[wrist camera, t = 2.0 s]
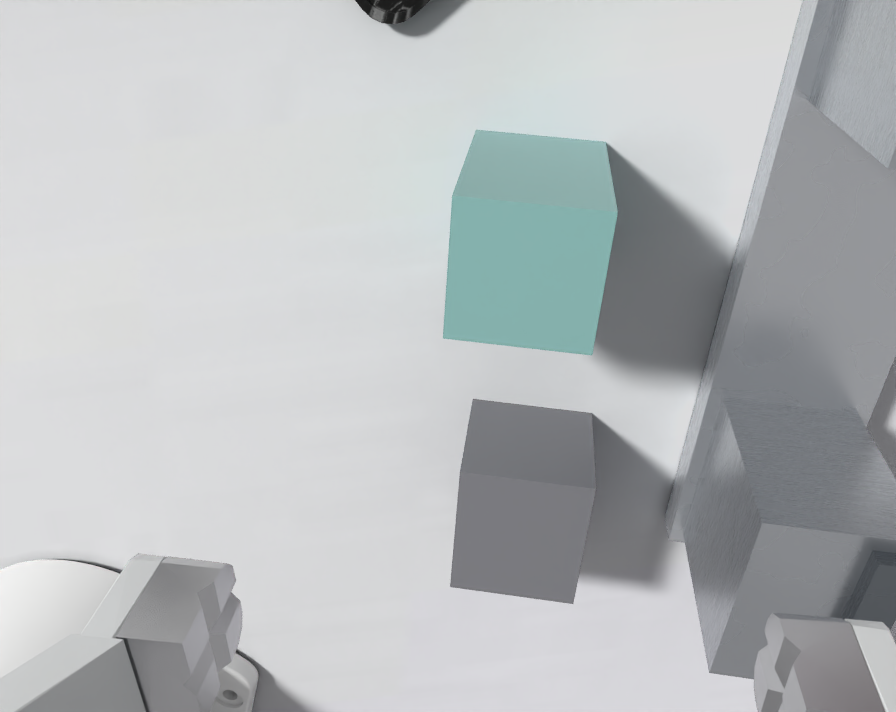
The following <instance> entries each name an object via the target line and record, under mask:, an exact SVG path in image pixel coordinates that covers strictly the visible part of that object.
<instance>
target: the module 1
mask: <svg viewBox="0 0 896 712" xmlns="http://www.w3.org/2000/svg"><path fill="white" fill-rule="evenodd" d="M617 214H618V210H617V204H616V198H615V193H614V187H613V181H612V175H611V170H610V164H609V158H608V152H607V147H606V142H601V141H590V140H579V139H569V138H558V137H547V136H537V135H526V134H515V133H505V132H494V131H483V130H476V132H475V135H474V137H473V140H472V143H471V146H470V148H469V151H468V154H467V157H466V159H465V162H464V165H463V168H462V170H461V173H460V176H459V179H458V181H457V184H456V187H455V190H454V192H453V195H452V208H451V223H450V239H449V254H448V269H447V285H446V300H445V315H444V331H443V338H444V339H453V340H462V341H471V342H479V343H488V344H497V345H506V346H514V347H523V348H532V349H541V350H549V351H558V352H567V353H575V354H584V355H592V354H593V348H594V343H595V337H596V331H597V326H598V320H599V315H600V309H601V304H602V298H603V292H604V287H605V281H606V276H607V270H608V265H609V259H610V253H611V248H612V242H613V237H614V231H615V226H616V220H617Z"/></svg>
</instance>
